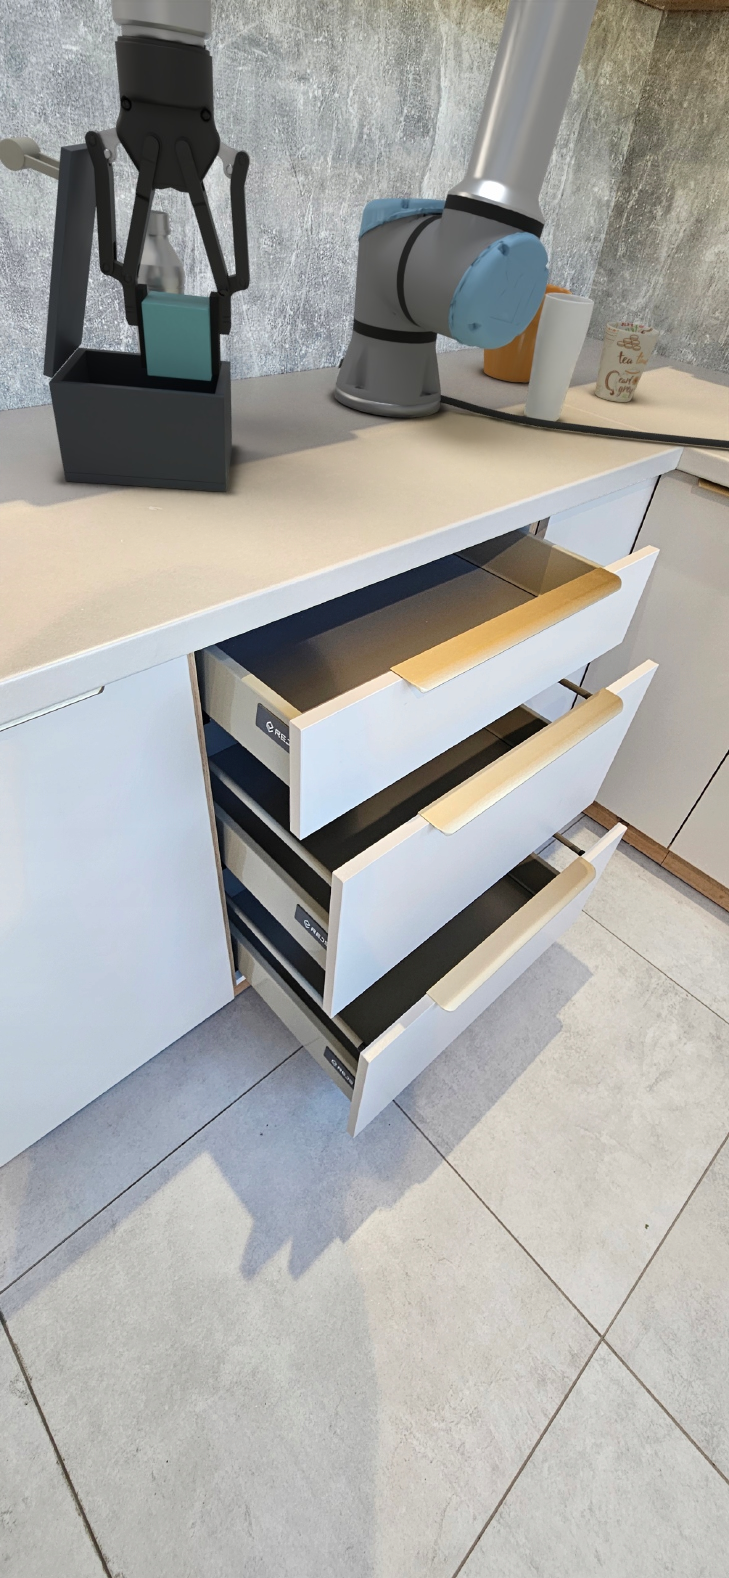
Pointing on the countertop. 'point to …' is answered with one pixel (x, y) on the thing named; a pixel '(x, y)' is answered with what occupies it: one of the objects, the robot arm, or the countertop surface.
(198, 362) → the detergent carton
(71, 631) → the countertop surface
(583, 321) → the drinking glass
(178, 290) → the silver metal bottle
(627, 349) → the mug
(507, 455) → the countertop surface
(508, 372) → the flower pot
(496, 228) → the robot arm
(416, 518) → the countertop surface
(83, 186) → the lid
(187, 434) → the compartment
